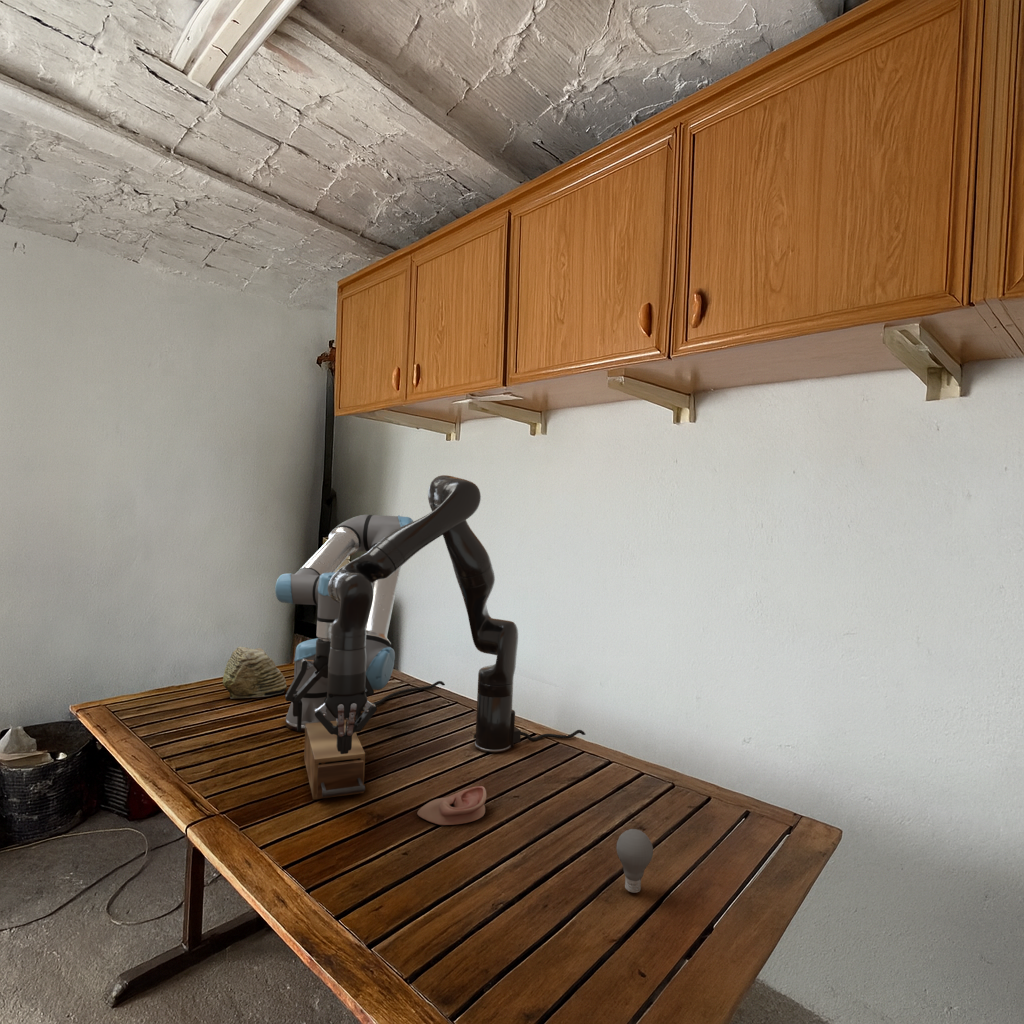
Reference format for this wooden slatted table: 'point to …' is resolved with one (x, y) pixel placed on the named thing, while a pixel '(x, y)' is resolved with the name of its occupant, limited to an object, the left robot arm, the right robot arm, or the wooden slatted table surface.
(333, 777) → the drawer
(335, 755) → the cabinet
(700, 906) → the wooden slatted table surface
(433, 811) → the anatomical model
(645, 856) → the light bulb
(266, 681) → the fossil
